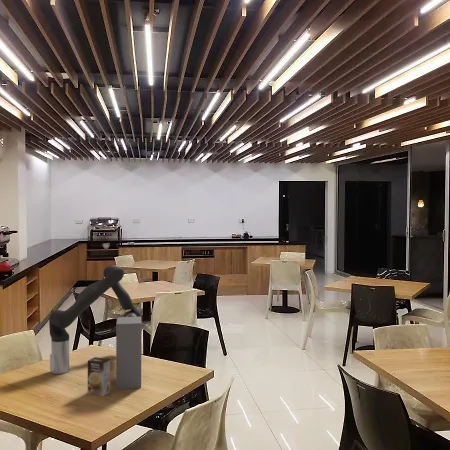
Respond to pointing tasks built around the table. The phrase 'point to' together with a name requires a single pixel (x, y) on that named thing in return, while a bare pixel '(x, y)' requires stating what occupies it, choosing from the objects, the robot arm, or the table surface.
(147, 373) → the table surface
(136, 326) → the pedestal
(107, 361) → the coffee box
